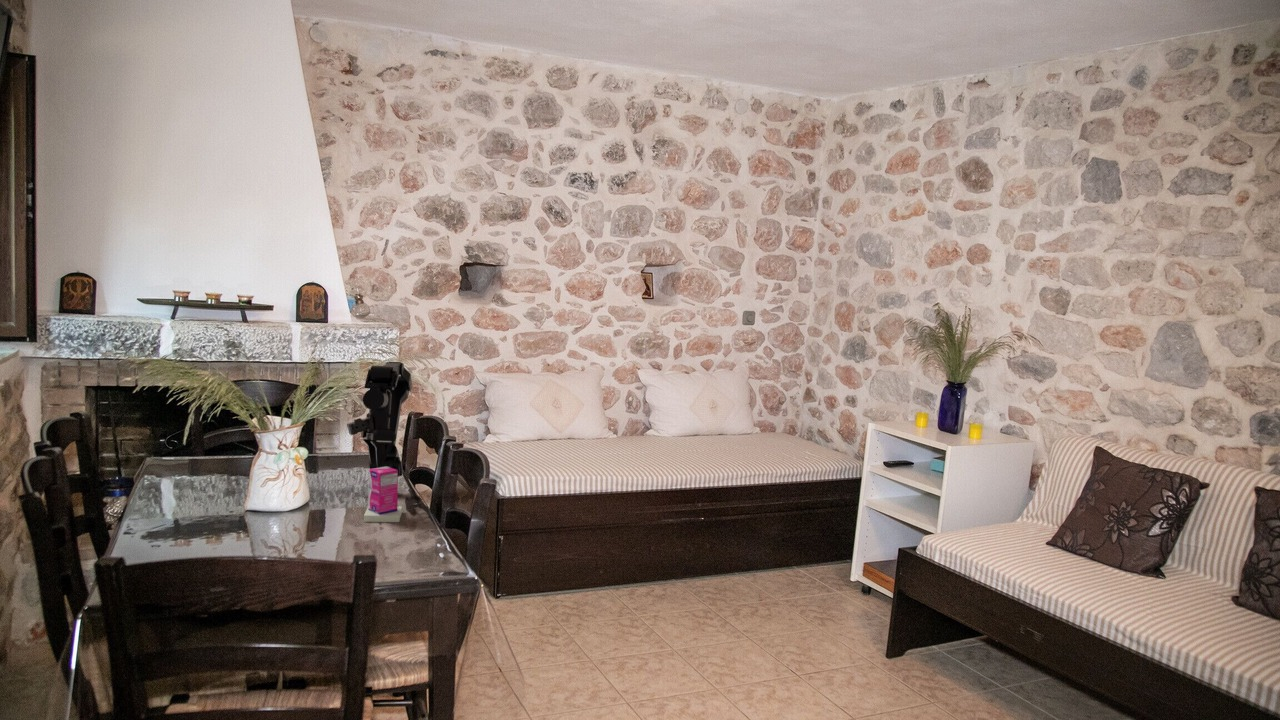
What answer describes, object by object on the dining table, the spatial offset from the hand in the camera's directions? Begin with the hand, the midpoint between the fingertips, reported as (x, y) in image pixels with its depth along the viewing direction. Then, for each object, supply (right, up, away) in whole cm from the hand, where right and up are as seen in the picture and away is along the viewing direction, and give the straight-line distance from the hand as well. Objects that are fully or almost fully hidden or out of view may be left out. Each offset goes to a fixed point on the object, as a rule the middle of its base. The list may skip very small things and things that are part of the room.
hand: (375, 465), depth 234 cm
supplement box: (+5, -11, -10) cm, 16 cm away
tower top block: (+5, -13, -10) cm, 17 cm away
